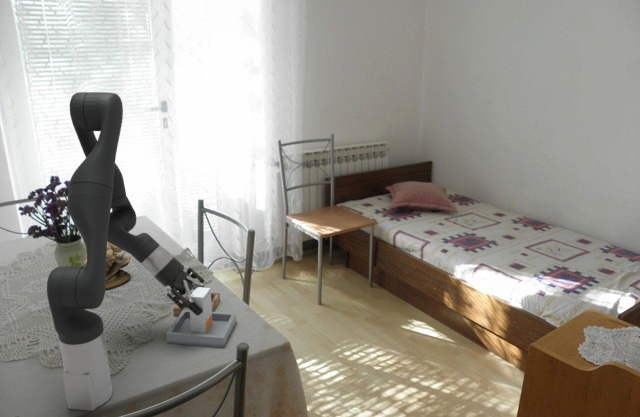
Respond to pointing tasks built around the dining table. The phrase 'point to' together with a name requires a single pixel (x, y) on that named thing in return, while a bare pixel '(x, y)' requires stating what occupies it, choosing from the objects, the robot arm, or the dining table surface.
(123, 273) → the beige lumpy sculpture
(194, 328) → the skincare box
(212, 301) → the socket block
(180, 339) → the tray
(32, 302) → the dining table surface
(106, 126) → the robot arm
